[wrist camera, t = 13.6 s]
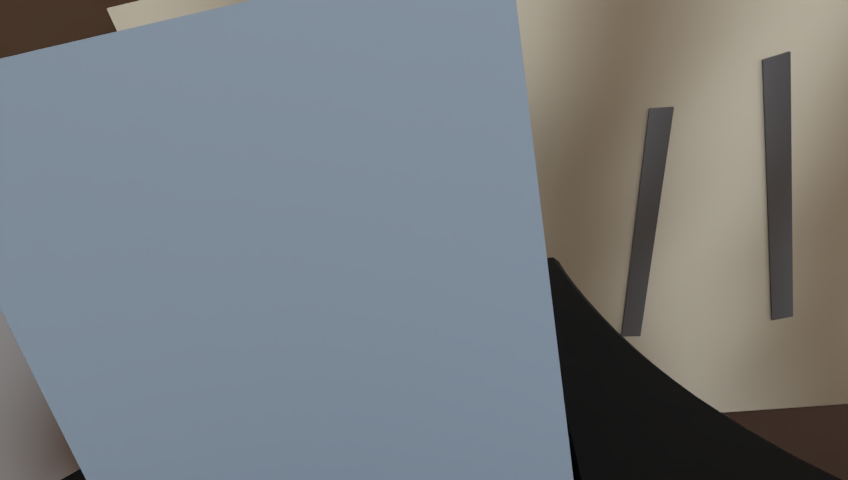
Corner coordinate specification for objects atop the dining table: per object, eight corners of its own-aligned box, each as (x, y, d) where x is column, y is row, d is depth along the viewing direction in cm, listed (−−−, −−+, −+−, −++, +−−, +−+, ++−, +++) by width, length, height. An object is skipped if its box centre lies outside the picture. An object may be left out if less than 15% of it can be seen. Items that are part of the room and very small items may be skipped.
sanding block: (491, 16, 8) (508, -60, 3) (546, 422, 11) (614, 821, 5) (260, 65, 9) (-114, 83, 3) (363, 438, 11) (249, 806, 6)
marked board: (1204, -254, 8) (1291, -277, 8) (951, 368, 15) (982, 395, 14) (132, 3, 12) (104, 8, 11) (316, 418, 19) (308, 442, 18)
